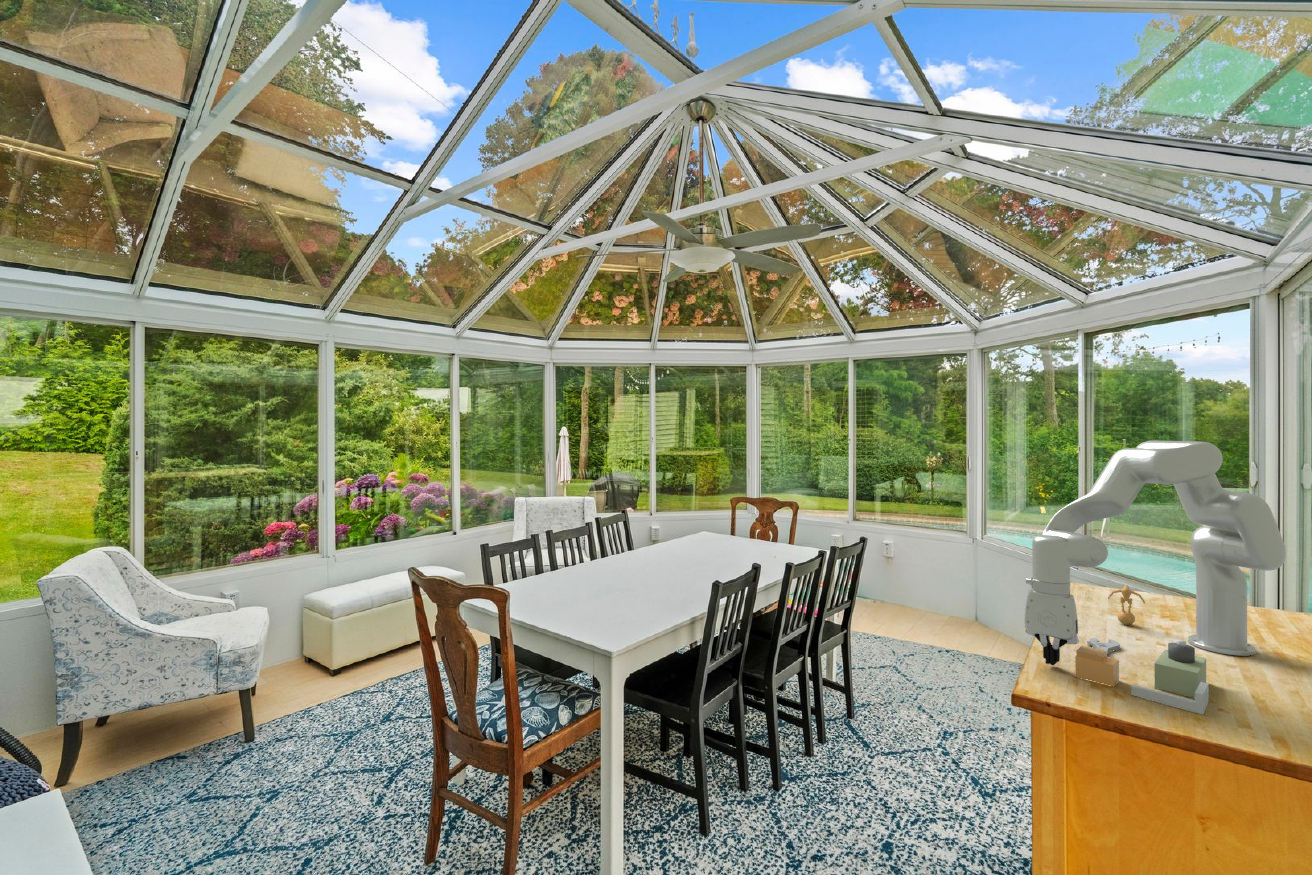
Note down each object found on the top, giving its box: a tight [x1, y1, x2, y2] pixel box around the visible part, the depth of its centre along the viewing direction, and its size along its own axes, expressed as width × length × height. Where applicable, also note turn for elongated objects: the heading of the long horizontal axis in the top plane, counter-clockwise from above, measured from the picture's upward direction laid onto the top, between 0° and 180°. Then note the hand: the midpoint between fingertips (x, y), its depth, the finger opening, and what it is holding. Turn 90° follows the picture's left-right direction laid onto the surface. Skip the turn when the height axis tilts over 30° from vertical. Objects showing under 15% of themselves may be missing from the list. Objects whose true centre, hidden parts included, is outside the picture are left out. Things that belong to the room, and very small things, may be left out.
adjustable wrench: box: [1086, 637, 1121, 654], centre depth 145 cm, size 25×6×2 cm, turn 134°
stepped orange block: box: [1074, 644, 1120, 688], centre depth 132 cm, size 5×7×6 cm
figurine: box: [1107, 584, 1146, 626], centre depth 167 cm, size 8×6×12 cm
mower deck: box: [1131, 639, 1210, 716], centre depth 126 cm, size 20×11×10 cm, turn 130°
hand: (1051, 662), depth 139 cm, fingers closed
